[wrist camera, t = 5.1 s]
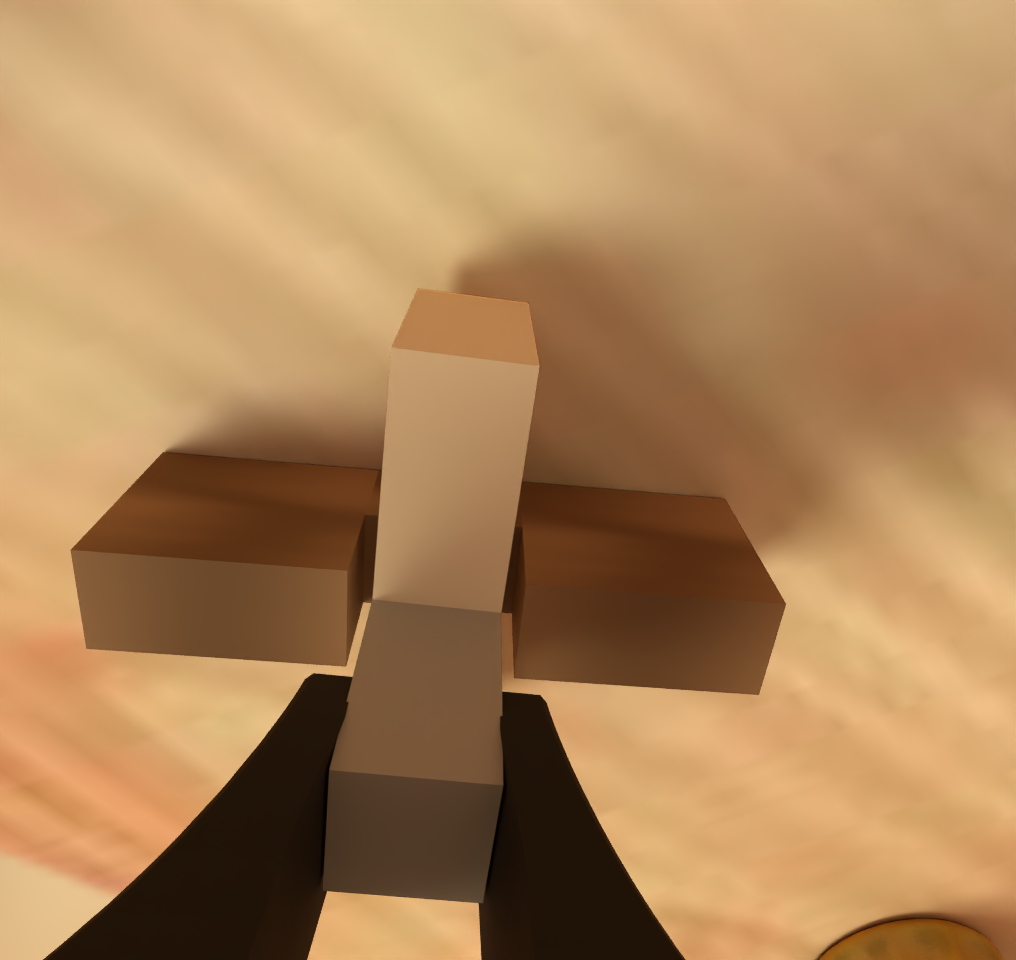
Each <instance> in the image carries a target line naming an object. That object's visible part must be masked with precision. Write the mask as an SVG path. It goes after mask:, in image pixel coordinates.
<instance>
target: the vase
mask: <svg viewBox="0 0 1016 960" xmlns="http://www.w3.org/2000/svg"><path fill="white" fill-rule="evenodd" d="M819 960H1002V957H1001V955H1000V954H999V952H998V950H997V949H996V948H995V946H994V945H993V944H992V943H991V942H990V941H989V940H988V939H987V938H986V937H984V936H983V935H982V934H980V933H978V932H976V931H975V930H973V929H970V928H968V927H965V926H963V925H960V924H957V923H953V922H949V921H944V920H936V919H910V920H901V921H894V922H889V923H884V924H881V925H877V926H874V927H871V928H868V929H866V930H863V931H860V932H858V933H856V934H854V935H852V936H850V937H848V938H846V939H844V940H843V941H841V942H840V943H838V944H836V945H835V946H833V947H832V948H831V949H829V950H828V951H827V952H826V953H825V954H824V955H823V956H822V957H821V958H820V959H819Z"/></svg>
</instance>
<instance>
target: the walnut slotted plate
mask: <svg viewBox="0 0 1016 960" xmlns="http://www.w3.org/2000/svg"><path fill="white" fill-rule="evenodd" d="M381 479H382V470H370V469H358V468H346V467H334V466H322V465H310V464H298V463H286V462H273V461H261V460H249V459H237V458H225V457H213V456H201V455H189V454H177V453H164V452H163V453H162V454H161V455H160V456H159V457H158V458H157V459H156V460H155V461H154V463H153V464H152V465H151V466H150V467H149V468H148V469H147V470H146V471H145V472H144V473H143V474H142V475H141V476H140V477H139V478H138V479H137V480H136V482H135V483H134V484H133V485H132V486H131V487H130V488H129V489H128V490H127V491H126V492H125V493H124V494H123V495H122V496H121V497H120V498H119V499H118V501H117V502H116V503H115V504H114V505H113V506H112V507H111V508H110V509H109V510H108V511H107V512H106V513H105V514H104V515H103V516H102V517H101V518H100V520H99V521H98V522H97V523H96V524H95V525H94V526H93V527H92V528H91V529H90V530H89V531H88V532H87V533H86V534H85V535H84V536H83V537H82V539H81V540H80V541H79V542H78V543H77V544H76V545H75V546H74V547H73V548H72V549H71V555H72V562H73V568H74V574H75V580H76V587H77V593H78V599H79V605H80V611H81V618H82V624H83V630H84V636H85V643H86V649H98V650H113V651H127V652H142V653H156V654H171V655H185V656H200V657H215V658H229V659H244V660H258V661H273V662H287V663H302V664H316V665H331V666H346V665H347V661H348V657H349V654H350V650H351V646H352V642H353V638H354V635H355V631H356V627H357V623H358V620H359V616H360V612H361V608H362V604H363V602H365V603H372V599H373V586H374V573H375V559H376V546H377V532H378V519H379V506H380V492H381ZM785 606H786V603H785V601H784V600H783V598H782V596H781V594H780V593H779V591H778V589H777V587H776V586H775V584H774V582H773V581H772V579H771V577H770V575H769V574H768V572H767V570H766V569H765V567H764V565H763V563H762V562H761V560H760V558H759V556H758V555H757V553H756V551H755V550H754V548H753V546H752V544H751V543H750V541H749V539H748V537H747V536H746V534H745V532H744V531H743V529H742V527H741V525H740V524H739V522H738V520H737V519H736V517H735V515H734V513H733V512H732V510H731V508H730V506H729V505H728V503H727V501H726V500H725V499H722V498H710V497H697V496H685V495H673V494H661V493H649V492H637V491H625V490H613V489H601V488H588V487H576V486H564V485H552V484H540V483H528V482H522V483H521V489H520V496H519V502H518V508H517V515H516V521H515V528H514V534H513V541H512V547H511V553H510V560H509V566H508V573H507V579H506V585H505V592H504V598H503V605H502V611H501V612H502V613H512V630H513V660H514V678H520V679H535V680H550V681H564V682H579V683H593V684H608V685H622V686H637V687H652V688H666V689H681V690H695V691H710V692H724V693H739V694H753V695H759V693H760V689H761V686H762V683H763V679H764V676H765V673H766V669H767V666H768V663H769V659H770V656H771V653H772V649H773V646H774V642H775V639H776V636H777V632H778V629H779V626H780V622H781V619H782V616H783V612H784V609H785Z"/></svg>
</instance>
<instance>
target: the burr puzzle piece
mask: <svg viewBox="0 0 1016 960" xmlns="http://www.w3.org/2000/svg"><path fill="white" fill-rule="evenodd" d="M539 367H540V365H539V360H538V354H537V349H536V343H535V337H534V332H533V326H532V320H531V315H530V309H529V304H528V303H526V302H519V301H511V300H504V299H496V298H488V297H481V296H473V295H466V294H458V293H451V292H443V291H435V290H428V289H420V288H418V289H417V291H416V294H415V296H414V298H413V300H412V302H411V305H410V307H409V309H408V311H407V314H406V316H405V318H404V320H403V323H402V325H401V327H400V329H399V331H398V334H397V336H396V338H395V340H394V343H393V345H392V347H391V358H390V371H389V385H388V398H387V412H386V425H385V439H384V452H383V465H382V479H381V492H380V506H379V519H378V532H377V546H376V559H375V573H374V586H373V599H372V603H371V607H370V611H369V615H368V619H367V623H366V627H365V631H364V635H363V639H362V643H361V647H360V651H359V655H358V659H357V663H356V666H355V670H354V674H353V678H352V682H351V686H350V690H349V694H348V698H347V702H349V704H348V708H347V712H346V716H345V719H344V721H343V724H342V727H341V729H340V732H339V734H338V737H337V741H336V745H335V749H334V753H333V757H332V761H331V765H330V769H329V784H328V802H327V821H326V840H325V859H324V877H323V891H333V892H346V893H358V894H371V895H384V896H396V897H409V898H422V899H435V900H447V901H460V902H473V903H483V898H484V892H485V887H486V881H487V875H488V870H489V864H490V858H491V853H492V847H493V841H494V836H495V830H496V824H497V819H498V813H499V807H500V802H501V796H502V790H503V749H502V742H501V734H500V716H502V635H501V611H502V605H503V598H504V592H505V585H506V579H507V573H508V566H509V560H510V553H511V547H512V541H513V534H514V528H515V521H516V515H517V508H518V502H519V496H520V489H521V483H522V476H523V470H524V464H525V457H526V451H527V444H528V438H529V431H530V425H531V419H532V412H533V406H534V399H535V393H536V386H537V380H538V374H539Z"/></svg>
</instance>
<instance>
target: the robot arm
mask: <svg viewBox="0 0 1016 960" xmlns="http://www.w3.org/2000/svg"><path fill="white" fill-rule="evenodd" d="M352 678H353V677H346V676H336V675H326V674H315V673H313V674H312V675H311V676H309V677H308V678H306V679H305V680H304V682H303V684H302V685H301V687H300V688H299V690H298V692H297V693H296V695H295V696H294V698H293V699H292V700H291V702H290V703H289V705H288V706H287V708H286V709H285V711H284V712H283V713H282V715H281V716H280V718H279V719H278V720H277V722H276V723H275V724H274V726H273V727H272V728H271V730H270V731H269V732H268V733H267V735H266V736H265V737H264V739H263V740H262V741H261V743H260V744H259V745H258V746H257V748H256V749H255V750H254V751H253V752H252V754H251V755H250V756H249V757H248V759H247V760H246V761H245V762H244V763H243V765H242V766H241V767H240V768H239V769H238V771H237V772H236V773H235V774H234V776H233V777H232V778H231V779H230V780H229V782H228V783H227V784H226V785H225V786H224V787H223V788H222V790H221V791H220V792H219V793H218V794H217V795H216V796H215V797H214V798H213V800H212V801H211V802H210V803H209V804H208V805H207V806H206V807H205V808H204V809H203V810H202V811H201V813H200V814H199V815H198V816H197V817H196V818H195V819H194V820H193V821H192V822H191V823H190V825H189V826H188V827H187V828H186V829H185V830H184V831H183V832H182V833H181V834H180V835H179V836H178V837H177V838H176V839H175V840H174V842H173V843H172V844H171V845H170V846H169V847H168V848H167V849H166V850H165V851H164V852H163V853H162V854H161V855H160V856H159V857H158V858H157V859H156V860H155V861H154V862H153V863H151V864H150V865H149V866H148V867H147V868H146V869H145V870H144V871H143V872H142V873H141V874H140V875H139V876H138V877H137V878H136V879H135V880H134V881H133V882H132V883H130V884H129V885H128V886H127V887H126V888H125V889H124V890H123V891H122V892H121V893H120V894H119V895H118V896H117V897H115V898H114V899H113V900H112V901H111V902H110V903H109V904H108V905H107V906H105V907H104V908H103V909H102V910H101V911H100V912H99V913H98V914H96V915H95V916H94V917H93V918H92V919H90V920H89V921H88V922H87V923H86V924H85V925H83V926H82V927H81V928H80V929H79V930H78V931H77V932H75V933H74V934H73V935H72V936H71V937H70V938H68V939H67V940H66V941H65V942H64V943H63V944H61V945H60V946H59V947H58V948H57V949H55V950H54V951H53V952H52V953H51V954H49V955H48V956H47V957H46V958H45V959H43V960H307V958H308V955H309V951H310V948H311V944H312V941H313V937H314V934H315V931H316V927H317V924H318V920H319V917H320V913H321V910H322V906H323V903H324V899H325V896H326V893H327V891H323V877H324V859H325V840H326V821H327V802H328V784H329V769H330V765H331V761H332V757H333V753H334V749H335V745H336V741H337V737H338V734H339V732H340V729H341V727H342V724H343V721H344V719H345V716H346V712H347V708H348V704H349V702H347V698H348V694H349V690H350V686H351V682H352ZM500 734H501V742H502V749H503V790H502V796H501V802H500V807H499V813H498V819H497V824H496V830H495V836H494V841H493V847H492V853H491V858H490V864H489V870H488V875H487V881H486V887H485V892H484V898H483V903H479V918H480V938H481V957H482V960H685V958H684V957H683V956H682V954H681V953H680V952H679V950H678V949H677V948H676V946H675V945H674V943H673V942H672V940H671V939H670V937H669V936H668V934H667V933H666V931H665V930H664V929H663V927H662V926H661V924H660V923H659V921H658V920H657V918H656V917H655V915H654V914H653V912H652V911H651V909H650V908H649V906H648V905H647V903H646V902H645V900H644V898H643V897H642V895H641V894H640V892H639V890H638V889H637V887H636V886H635V884H634V882H633V881H632V879H631V877H630V876H629V874H628V872H627V871H626V869H625V867H624V865H623V864H622V862H621V860H620V859H619V857H618V855H617V854H616V852H615V850H614V848H613V847H612V845H611V843H610V841H609V839H608V838H607V836H606V834H605V832H604V830H603V828H602V827H601V825H600V823H599V821H598V819H597V817H596V815H595V813H594V811H593V809H592V807H591V805H590V803H589V801H588V799H587V797H586V795H585V793H584V791H583V790H582V788H581V785H580V783H579V781H578V779H577V777H576V775H575V773H574V771H573V768H572V766H571V764H570V762H569V759H568V757H567V755H566V753H565V750H564V748H563V746H562V743H561V741H560V738H559V736H558V733H557V731H556V728H555V726H554V723H553V720H552V718H551V715H550V712H549V709H548V706H547V703H546V701H545V700H544V699H543V698H542V697H541V695H533V694H522V693H512V692H502V716H500Z"/></svg>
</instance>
